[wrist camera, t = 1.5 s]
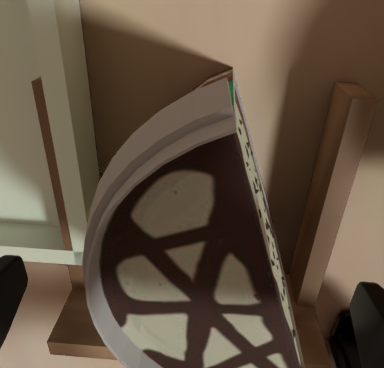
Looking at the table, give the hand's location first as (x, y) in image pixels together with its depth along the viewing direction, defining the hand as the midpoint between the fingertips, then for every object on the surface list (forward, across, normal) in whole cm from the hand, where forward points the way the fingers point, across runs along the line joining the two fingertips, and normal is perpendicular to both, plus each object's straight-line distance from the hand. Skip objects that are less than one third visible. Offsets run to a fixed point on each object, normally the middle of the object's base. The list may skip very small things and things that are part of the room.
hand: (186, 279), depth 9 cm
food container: (+10, 0, +2) cm, 10 cm away
